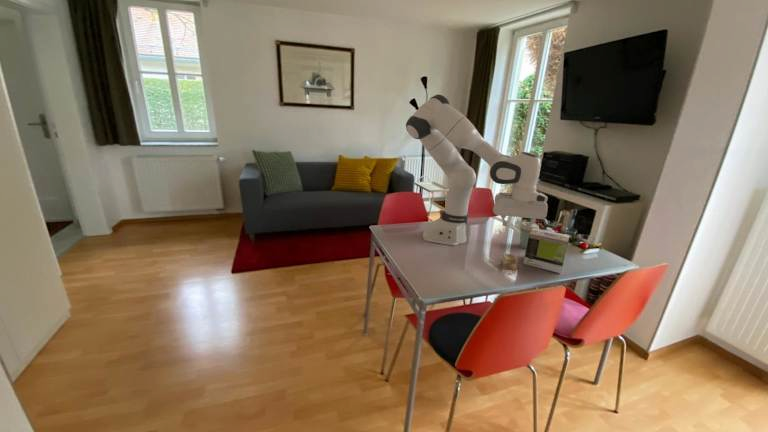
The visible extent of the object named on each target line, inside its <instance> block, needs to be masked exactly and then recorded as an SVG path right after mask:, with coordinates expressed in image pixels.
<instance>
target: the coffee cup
mask: <svg viewBox="0 0 768 432" xmlns="http://www.w3.org/2000/svg"><path fill="white" fill-rule="evenodd" d="M529 222H530V221H523V222H522V223H521V224H520V236H519V247H520V248H522V249H525V250H526V247H527V242H528V237H529V233H530V232H531V230H532V228H537V229H540V227H539V224H537V223H535V222H534V223H533V224H532V226H531V228H527V227H526V225H527V223H529Z"/></svg>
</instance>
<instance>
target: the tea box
mask: <svg viewBox="0 0 768 432" xmlns="http://www.w3.org/2000/svg"><path fill="white" fill-rule="evenodd" d="M546 230H547V229H546ZM546 230H545V229H541V228H539V229H537V228H532V230H531V232H530V233H529V237H528V242H527V247H526V249H525V253H524V258H523V264H524V265H527V266H530V267H534V268H539V269H543V270H546V271H550V272H553V273H558V274H561V273H562V270H563V266H564V261H565V258H566V254H567V249H568V245H569V239H570V234H566V233H561V232H560V233H559V232H556V231H555V232H551V231H546Z"/></svg>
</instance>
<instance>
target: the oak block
mask: <svg viewBox="0 0 768 432" xmlns="http://www.w3.org/2000/svg"><path fill="white" fill-rule="evenodd" d="M518 262H519V259H518V258H517V256H516V254H510V253H509V254H508V253H502V257H501V262H500V264H501V267H502V269H503V270H507V269H508V270H510V271H517V266H518Z"/></svg>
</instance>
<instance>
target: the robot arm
mask: <svg viewBox="0 0 768 432" xmlns="http://www.w3.org/2000/svg"><path fill="white" fill-rule="evenodd" d="M450 104H451V103H450V101H449V100H448V98H447V97H445V96H444V95H442V94H440V93H439V94H435V95H433V96H431V97H430V98H429V99H428V100H426V101H425V102H424V103H423V104H422V105H421V106H419V108H418V109H417V110H416V111H415V112H413V114H412V115H411V116H410V117H409V118H408V119H407V120H406V122H405V128H406V131H407V133H408V134H409V136H411V137H412V138H413V139H415V140H419V141H420V142H421V144H422V145H423V147H424V148H425V150H426V152H427V153H428V154H429V155H430V157H431V158H432V159H433V160H434V162H435V163H436V164H437V165H438V166H439V168H440V169H441V170H442V172H443V173H444V174H445V175H446V176H447V179H449V180H450V182H449V183H450V184H449V188H448V191H447V192H448V193H447V195H446V199H445V207H444V210H443V209H440V210H439V214H440V215H439V217H438V218H436V219H434V221H433V220H432V221H431V222H430V223H429V224H428V226H427V229H426V230H424V231H422V235H421V236H422V239H423V240H424V241H425V242H431V243H437V244H442V245H446V246H447V245H448V246H454V247H455V246H458V245H461V244H465V243H467V240H468V239H467V233H466V232H467V224H468V218H469V214H468V210H469V205H470V199H471V196H472V192H473V189H474V186H475V184H476V182H477V173H476V172H475V170H474V168H473V167H472V166H470V165H469V164H468V163H467V162H466V161H465V160H464V159H465V158H463V156H462V155H461V154H460V152H459V150H458V149H457V147H458V148H460V149H465V150H470V151H471V152H474V153H475V154H476V155H477V156H478V157H480V158H481V159H482V160H483V161H485V163H487V164H488V166H489V167H490V170H489V177H490V179H491V180H492V181H493V182H494V183H496V184H499V185H511V184H512V186H511V190H510V191H511V192H498V193H496V194H495V196H494V204H493V209H492V211H493V214H494V215H495V216H500V218H501V220H502V227H507V226H508V221H507V220H505V219H506V218H507V217H513V218H526V219H530V221H528V222H529V223H527V225H526V227H527V228H531V226H532V224H533V223H535V222H536V220H537V219H538V220H544V219H546V217H548V216H547V215H548V208H549V205H548V203H547V202H548V199H549V198H548V196H547V195H546V194H544V193H542V192H540V191H538V190H537V188H538V187H537V182H538V180H539V177H540V172H541V165H542V160H541V158H540V157H539V155H537V154H534V153H531V152H527V151H522V152H520V153H518V154H516V155H513V156H509V155H506V154H503V153H500V152H499V151H498V150H497V149H496V148H495V147H494V146H493V145H491V144H490V143H489V142H488V141H486V140H485V139H484V138H483V136H482V135H481V134H480V133H479V131H478V129H477V128H476V126H475V125H474V124H473V123H472V122H471V121H470V119H468V117H466V116H465V115H464V114H463V113H462V112H460V110H458V109H456V108H455V107H453V106H452V105H450Z"/></svg>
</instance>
